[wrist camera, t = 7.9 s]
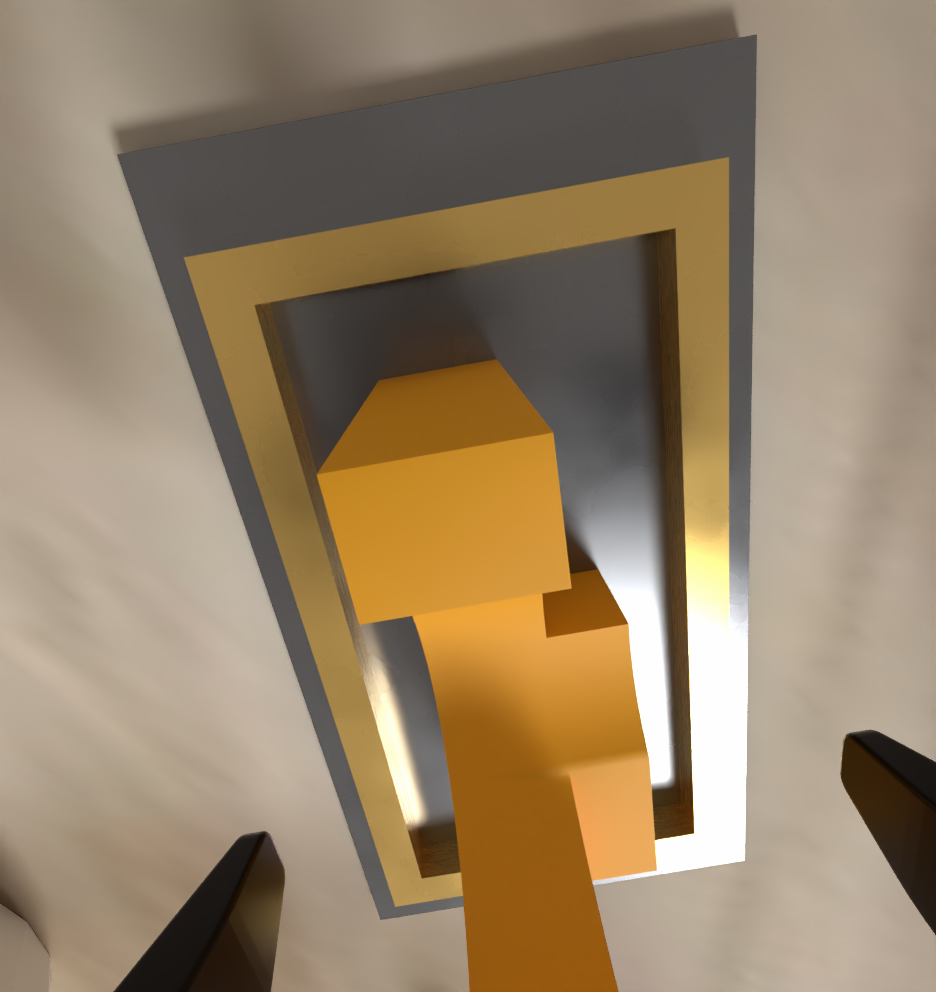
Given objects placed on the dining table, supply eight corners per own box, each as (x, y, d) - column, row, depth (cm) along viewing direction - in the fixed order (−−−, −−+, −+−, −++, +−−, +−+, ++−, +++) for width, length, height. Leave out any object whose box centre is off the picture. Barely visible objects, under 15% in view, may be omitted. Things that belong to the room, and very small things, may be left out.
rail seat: (743, 45, 11) (788, 9, 9) (736, 845, 18) (761, 892, 17) (131, 161, 11) (85, 141, 9) (382, 903, 19) (377, 954, 17)
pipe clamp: (616, 761, 16) (721, 1043, 10) (470, 786, 16) (488, 1080, 10) (576, 344, 12) (715, 404, 6) (379, 380, 12) (316, 474, 6)
